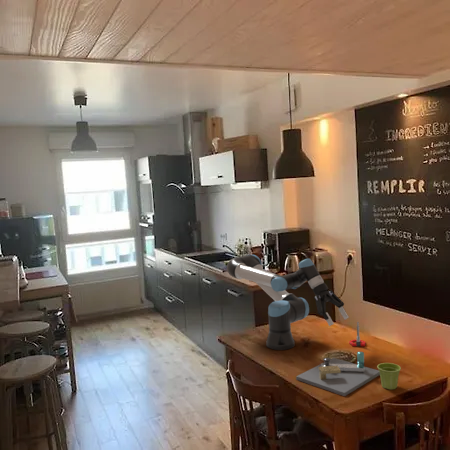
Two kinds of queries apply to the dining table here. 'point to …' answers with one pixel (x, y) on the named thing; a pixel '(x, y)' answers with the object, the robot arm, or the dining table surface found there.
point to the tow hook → (358, 341)
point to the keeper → (328, 371)
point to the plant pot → (389, 375)
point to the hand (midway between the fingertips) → (339, 321)
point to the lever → (348, 367)
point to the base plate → (338, 378)
